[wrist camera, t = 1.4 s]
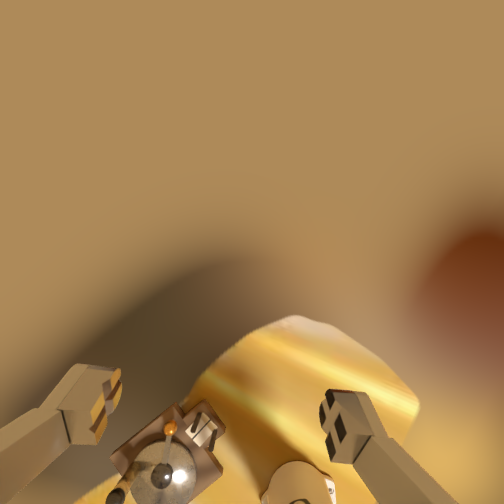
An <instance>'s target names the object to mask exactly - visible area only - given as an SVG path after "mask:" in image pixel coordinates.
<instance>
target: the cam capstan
mask: <svg viewBox="0 0 504 504" xmlns="http://www.w3.org/2000/svg"><path fill="white" fill-rule="evenodd" d="M176 430H177V422H176V421H175V420H168V421H167V422H166V423H165V425H164V428H163V431H164V434H165V435H167V436H166V439H159V440H156V441H153V442H151V443H149V444H148V445H146V446H145V447H144V448H143V449H142V450H141V451H140V453H139V454H138V455H137V457H136V459H135V460H134V462H132V463H131V464H130V465H129V467H128V468H127V470H126V471H125V473H124V474H123V476H122V477H121V479H120V480H119V482H118V483H117V485H116V486H115V488H114V489H113V490H112V491H111V492H110V493H109V495H108V496H107V499H106V503H105V504H123V503H124V501H125V497H126V495H127V493H128V492H129V490H131V493H132V496H133V498H134V499H135V501H136V502H137V504H186V503H187V502H188V500H189V499H190V497H191V495H192V493H193V490H194V487H195V483H196V478H197V468H196V463H195V460H194V457H193V456H192V454H191V452H190V451H189V450H188V449H187V448H186V447H185V446H184V445H183V444H181V443H180V442H178V441H175V440H172V435H173V434H174V433H175V432H176Z"/></svg>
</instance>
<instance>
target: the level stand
mask: <svg viewBox="0 0 504 504" xmlns="http://www.w3.org/2000/svg"><path fill="white" fill-rule="evenodd" d="M168 420H175V421H176V422H177V430H176V432H175V433H174V434H173V435H172V440H175V441H178V442H180V443H181V444H183V445H184V446H185V447H186V448H187V449H188V450H189V451H190V452H191V454H192V456H193V457H194V460H195V463H196V468H197V478H196V483H195V487H194V490H193V493H192V495H191V497H190V499H189V500H188V502H187V503H186V504H188V503H189V502H190V501H192V500H193V499H194V498H195V497H196V496H198V495H199V494H200V493H201V492H203V491H204V490H205V489H206V488H207V487H209V486H210V485H211V484H212V483H213V482H215V481H216V480H217V479H218V478H219V477H221V476H222V473H223V467H222V466H221V465H220V463H219V462H218V460H217V459H216V457H215V456H214V455H213V453H212V451H213V449H214V444H215V440H216V439H217V438H219V437H220V436H221V435H222V434H224V433H225V428H226V427H225V426H224V424H223V423H222V422H221V420H220V419H219V417H218V416H217V415H216V413H215V412H214V410H213V409H212V408H211V406H210V405H209V404H208V402H207V401H206V399H204V400H202V401H201V402H200V403H199V404H197V405H196V406H195V407H194V408H192V409H191V410H190V411H189V412H188V413H186V414H184V412H183V411H182V409H181V408H180V407H179V405H178V404H177V402H175V403H174V404H173V405H171V406H170V407H169V408H168V409H166V410H165V411H164V412H163V413H161V414H160V415H159V416H158V417H156V418H155V419H154V420H153V421H151V422H150V423H149V424H148V425H146V426H145V427H144V428H143V429H141V430H140V431H139V432H138V433H136V434H135V435H134V436H133V437H131V438H130V439H129V440H128V441H126V442H125V443H124V444H123V445H121V446H120V447H119V448H118V449H116V450H115V451H114V452H113V453H112V455H111V456H110V457H109V458H110V459H111V461H112V462H113V464H114V466H115V467H116V468H117V470H118V471H119V473H120V474H121V476H123V474H124V473H125V471H126V470H127V468H128V467H129V465H130V464H131V463H132V462H134V460H135V459H136V457H137V455H138V454H139V453H140V451H141V450H142V449H143V448H144V447H145V446H146V445H148V444H149V443H151V442H153V441H156V440H159V439H166V436H167V435H165V434H164V431H163V428H164V425H165V423H166V422H167V421H168ZM208 446H209V447H208Z"/></svg>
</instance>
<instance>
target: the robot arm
mask: <svg viewBox="0 0 504 504" xmlns="http://www.w3.org/2000/svg"><path fill="white" fill-rule="evenodd" d="M120 375H121V371H120V368H111V367H103V366H95V365H86V364H75V365H74V366H73V367H71V368H70V370H69V371H68V372H67V373H66V375H65V376H64V377H63V378H62V380H61V381H60V383H58V385H57V386H56V387H55V388H54V390H53V391H52V392H51V393H50V395H49V396H48V397H47V398H46V400H45V401H44V402H43V403H42V405H41V406H40V407H39V408H33V409H32V410H30V411H28V412H27V413H25V414H24V415H22V416H20V417H19V418H17V419H16V420H14V421H12V422H11V423H9V424H8V425H6V426H4V427H3V428H1V429H0V504H6V503H7V502H9V501H10V500H11V499H12V498H13V497H14V496H15V495H16V494H17V493H18V492H20V491H21V490H22V489H23V488H24V487H25V486H26V485H27V484H28V483H29V482H31V481H32V480H33V479H34V478H35V477H36V476H37V475H38V474H39V473H41V472H42V471H43V470H44V469H45V468H46V467H47V466H48V465H49V464H50V463H52V461H53V460H55V459H56V458H57V457H58V456H59V455H60V454H61V453H63V451H65V450H66V449H67V448H68V447H69V446H70V444H83V445H84V444H85V445H97V443H98V441H99V440H100V437H101V435H102V434H103V432H104V430H105V428H106V426H107V416H108V415H109V414H110V413H112V412H113V411H114V410H115V408H116V406H117V404H118V402H119V398H120V395H121V391H122V382H120V380H119V377H120ZM325 396H326V399H325V400H323V401H322V402H321V405H320V409H319V417H320V423H321V427H322V429H323V430H324V432H325V433H326V434H327V437H326V440H325V443H326V446H327V450H328V454H329V457H330V461H331V462H334V463H343V464H353V467H354V469H355V470H356V472H357V473H358V474H359V476H360V477H361V479H362V480H363V482H364V483H365V484H366V486H367V487H368V489H369V490H370V492H371V493H372V494H373V496H374V497H375V499H376V500H377V502H378V503H379V504H458V503H457V502H456V501H455V500H454V499H453V498H452V497H451V496H450V495H449V494H448V493H447V492H446V491H445V490H444V489H443V488H442V487H441V486H440V485H439V484H438V483H437V482H436V481H435V480H434V479H433V478H432V477H431V476H430V475H429V474H428V473H427V472H426V471H425V470H424V469H423V468H422V467H421V466H420V465H419V464H418V463H417V462H416V461H415V460H414V459H413V458H412V457H411V456H410V455H409V454H408V453H407V452H406V451H405V450H404V449H403V448H402V447H401V446H400V445H399V444H398V443H397V442H396V441H395V440H394V439H393V438H389V437H388V435H387V433H386V431H385V429H384V427H383V425H382V423H381V421H380V419H379V417H378V415H377V413H376V410H375V408H374V406H373V404H372V402H371V400H370V398H369V396H368V395H367V394H366V393H365V392H356V391H350V390H338V389H328V390H327V391H326V393H325ZM329 488H331V489H329ZM261 503H262V504H336V496H335V485H334V481H333V479H332V478H331V477H329V476H327V475H324V474H321V473H320V472H319V471H318V470H317V469H316V468H315V467H313V466H312V465H310V464H308V463H305V462H301V461H292V462H288V463H286V464H284V465H282V466H281V467H280V468H278V469H277V471H276V472H275V473H274V475H273V476H272V478H271V481H270V484H269V487H268V489H267V491H266V492H265V493H264V494H263V496H262V498H261Z"/></svg>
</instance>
